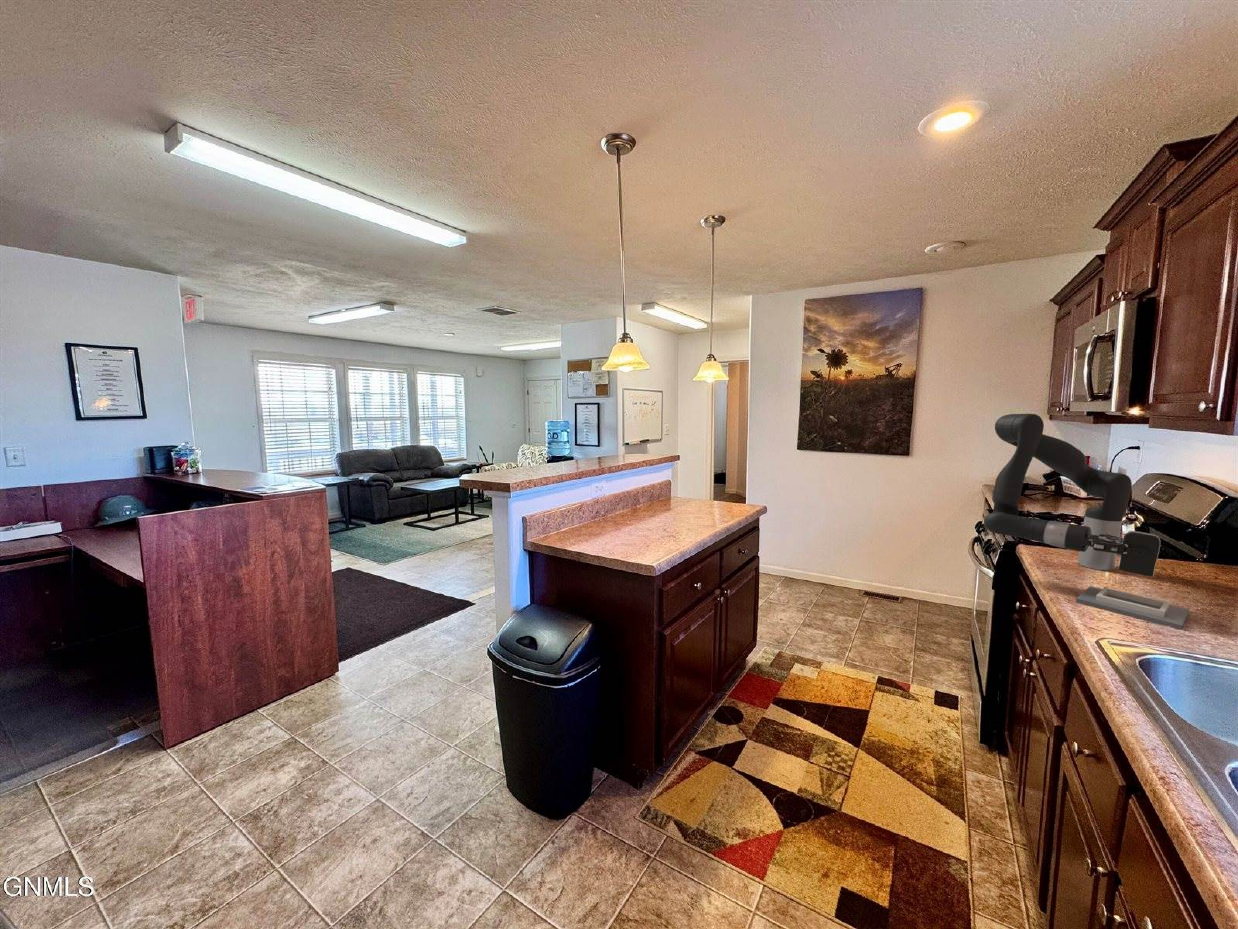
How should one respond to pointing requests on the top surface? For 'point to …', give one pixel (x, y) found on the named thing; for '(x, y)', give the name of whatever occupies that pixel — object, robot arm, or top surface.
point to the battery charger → (1135, 561)
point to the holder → (1135, 606)
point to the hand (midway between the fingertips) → (1149, 551)
